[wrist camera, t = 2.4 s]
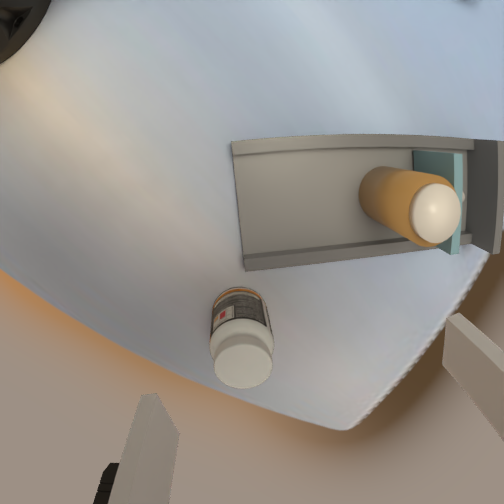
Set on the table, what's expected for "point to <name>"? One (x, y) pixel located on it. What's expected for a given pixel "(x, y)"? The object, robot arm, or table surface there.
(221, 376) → the pill bottle
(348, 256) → the lane
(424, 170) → the plate
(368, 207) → the amber jar
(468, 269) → the table surface
